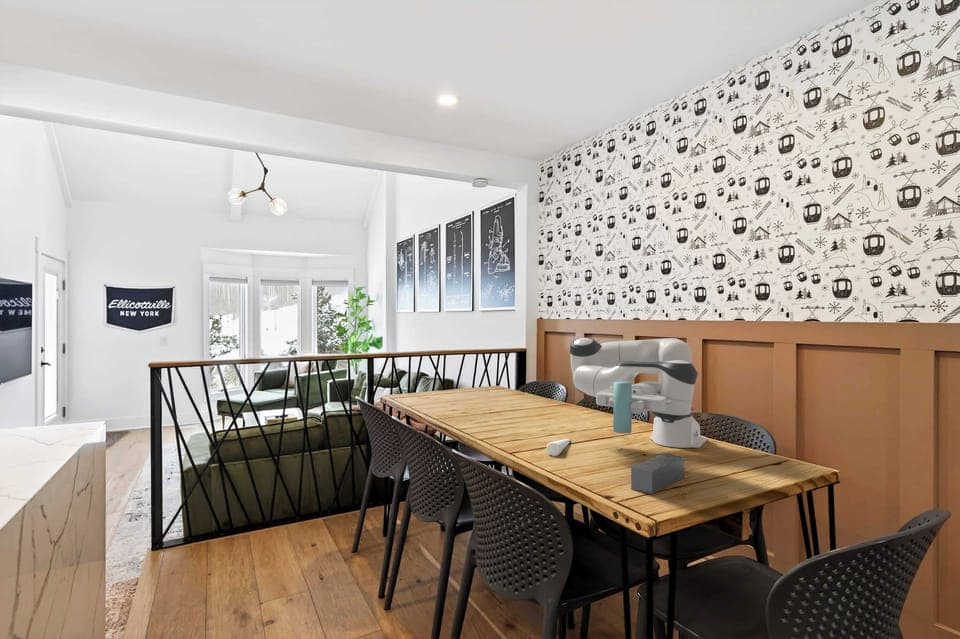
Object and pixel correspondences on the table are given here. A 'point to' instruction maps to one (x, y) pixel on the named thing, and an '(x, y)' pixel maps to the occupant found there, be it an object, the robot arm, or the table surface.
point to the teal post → (622, 407)
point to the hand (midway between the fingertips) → (621, 405)
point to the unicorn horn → (557, 447)
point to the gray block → (657, 473)
